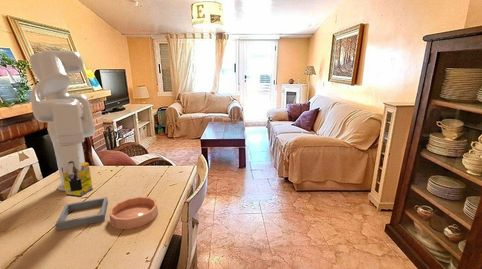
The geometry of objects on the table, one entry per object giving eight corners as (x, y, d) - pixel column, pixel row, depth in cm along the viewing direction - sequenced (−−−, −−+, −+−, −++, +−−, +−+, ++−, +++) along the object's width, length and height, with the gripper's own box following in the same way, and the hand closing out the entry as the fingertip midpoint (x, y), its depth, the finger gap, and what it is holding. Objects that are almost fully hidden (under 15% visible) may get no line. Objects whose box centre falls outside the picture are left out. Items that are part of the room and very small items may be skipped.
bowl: (112, 210, 94) (111, 201, 94) (155, 201, 100) (154, 193, 100) (109, 233, 80) (107, 223, 80) (159, 221, 86) (158, 213, 86)
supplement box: (80, 197, 86) (75, 168, 84) (66, 196, 87) (60, 167, 85) (93, 189, 92) (89, 162, 89) (79, 188, 93) (74, 161, 90)
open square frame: (66, 210, 95) (65, 204, 94) (108, 202, 100) (107, 197, 99) (56, 230, 82) (55, 224, 82) (104, 220, 88) (103, 214, 87)
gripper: (63, 133, 91) (72, 177, 95) (50, 146, 75) (60, 198, 80) (87, 131, 94) (94, 174, 98) (78, 144, 78) (87, 194, 83)
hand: (79, 184), depth 89 cm, fingers closed on supplement box, 8 cm apart
